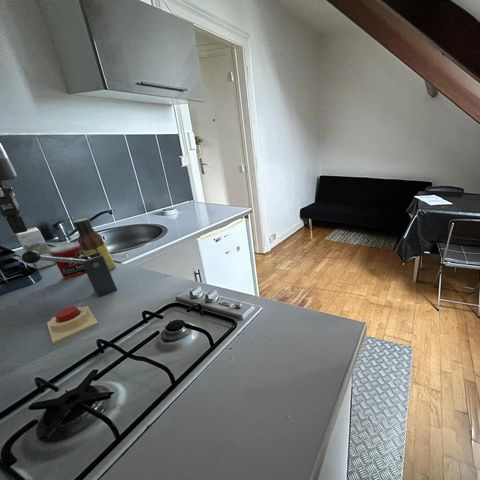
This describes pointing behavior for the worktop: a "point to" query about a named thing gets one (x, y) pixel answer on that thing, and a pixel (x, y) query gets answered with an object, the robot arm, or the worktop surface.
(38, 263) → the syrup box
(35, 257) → the lever
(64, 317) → the button
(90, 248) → the sauce bottle
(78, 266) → the canned food
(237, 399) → the worktop surface
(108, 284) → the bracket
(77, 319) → the button box
